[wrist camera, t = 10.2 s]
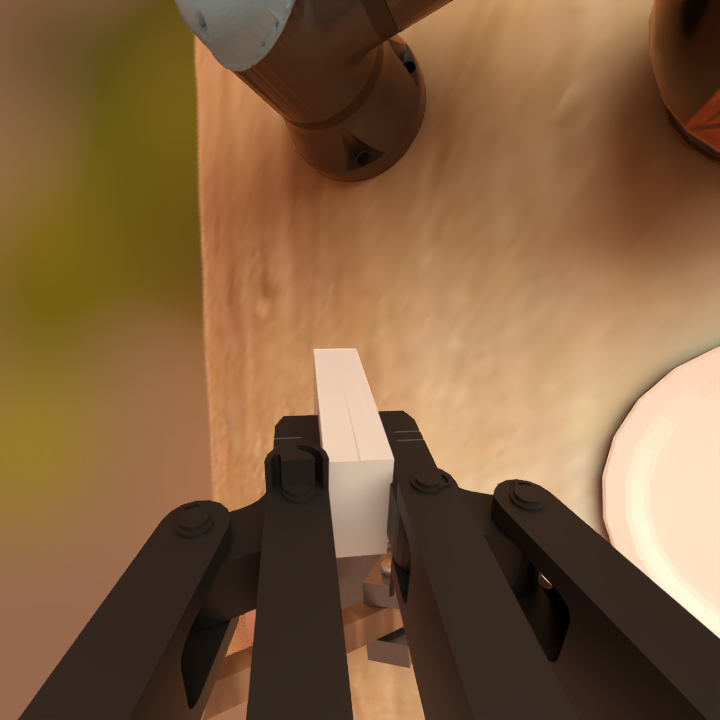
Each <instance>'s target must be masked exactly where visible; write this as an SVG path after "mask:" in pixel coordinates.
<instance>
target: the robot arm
mask: <svg viewBox="0 0 720 720" xmlns="http://www.w3.org/2000/svg"><path fill="white" fill-rule="evenodd" d="M451 1H453V0H175V2H176V5H177V7H178V10H179V12H180V14H181V16H182V18H183V20H184V21H185V22H186V24H187V26H188V27H189V28H190V29H191V31H192V32H193V33H194V34H195V35H196V36H197V37H198V38H199V39H200V40H201V42H202V43H203V44H204V45H205V46H206V47H207V48H208V49H209V50H210V51H211V52H212V54H213V56H214V57H215V59H216V60H218V62H219V63H220V64H221V65H222V66H223V67H225V68H227V69H230V70H231V71H232V72H233V73H234V74H235V75H236V76H237V77H239V78H240V79H241V80H242V81H243V82H244V83H245V84H246V85H248V86H249V87H250V88H251V89H252V90H253V91H254V92H255V93H256V94H258V95H259V96H260V97H261V98H262V99H263V100H264V101H265V102H267V103H268V104H269V105H270V106H271V107H272V108H273V109H274V110H275V111H277V112H278V113H279V114H280V115H281V116H282V117H283V118H284V120H285V122H286V125H287V127H288V129H289V132H290V134H291V136H292V139H293V141H294V143H295V145H296V147H297V149H298V151H299V152H300V154H301V155H302V156H303V157H304V159H305V160H306V161H307V162H308V163H309V164H311V165H312V166H313V167H314V168H315V169H317V170H318V171H319V172H320V173H322V174H323V175H325V176H327V177H329V178H332V179H335V180H339V181H347V182H353V181H361V180H365V179H368V178H371V177H374V176H376V175H378V174H380V173H382V172H383V171H385V170H387V169H388V168H389V167H391V166H392V165H393V164H394V163H396V162H397V161H398V160H399V159H400V158H401V157H402V156H403V154H404V153H405V152H406V151H407V149H408V148H409V147H410V145H411V144H412V142H413V140H414V139H415V137H416V135H417V133H418V131H419V128H420V126H421V123H422V120H423V116H424V111H425V104H426V89H425V82H424V78H423V75H422V72H421V69H420V67H419V64H418V62H417V60H416V57H415V55H414V53H413V52H412V50H411V49H410V47H409V46H408V45H407V43H406V42H405V41H404V40H403V39H402V38H401V37H400V36H398V35H397V34H398V33H399V32H401V31H403V30H405V29H406V28H408V27H410V26H411V25H413V24H415V23H416V22H418V21H420V20H421V19H423V18H425V17H426V16H428V15H430V14H431V13H433V12H434V11H436V10H438V9H439V8H441V7H443V6H444V5H446V4H448V3H449V2H451ZM313 351H314V415H306V416H283V417H282V419H281V420H280V421H279V422H278V423H277V425H276V426H275V435H274V449H273V450H272V451H271V452H270V453H268V454H267V457H266V459H265V461H264V463H265V479H266V493H265V495H264V496H263V497H262V498H260V499H259V500H258V501H256V502H255V503H253V504H251V505H249V506H246V507H244V508H241V509H238V510H235V511H231V512H228V509H227V508H226V507H224V506H223V505H222V504H220V503H217V502H214V501H210V500H206V501H194V502H191V503H187V504H184V505H181V506H180V507H178V508H176V509H174V510H173V511H171V512H170V513H169V514H168V515H167V516H166V517H165V518H164V519H163V520H162V521H161V522H160V524H159V525H158V527H157V528H156V529H155V531H154V532H153V533H152V535H151V536H150V538H149V539H148V540H147V542H146V543H145V544H144V546H143V547H142V549H141V550H140V551H139V553H138V554H137V556H136V557H135V558H134V560H133V561H132V563H131V564H130V565H129V567H128V568H127V569H126V571H125V572H124V574H123V575H122V577H121V578H120V579H119V581H118V582H117V583H116V585H115V586H114V588H113V589H112V590H111V592H110V593H109V594H108V596H107V597H106V599H105V600H104V601H103V603H102V604H101V606H100V607H99V608H98V610H97V611H96V612H95V614H94V615H93V616H92V618H91V619H90V621H89V622H88V623H87V625H86V626H85V628H84V629H83V630H82V632H81V633H80V634H79V636H78V637H77V639H76V640H75V642H74V643H73V644H72V646H71V647H70V648H69V650H68V651H67V653H66V654H65V655H64V657H63V658H62V659H61V661H60V662H59V664H58V665H57V666H56V668H55V669H54V670H53V672H52V673H51V675H50V676H49V677H48V679H47V680H46V682H45V683H44V684H43V686H42V687H41V689H40V690H39V691H38V693H37V694H36V695H35V697H34V698H33V700H32V701H31V702H30V704H29V705H28V706H27V708H26V709H25V711H24V712H23V713H22V715H21V716H20V718H19V719H18V720H201V718H202V715H203V712H204V710H205V707H206V705H207V702H208V699H209V697H210V694H211V692H212V689H213V686H214V684H215V681H216V679H217V676H218V673H219V671H220V668H221V666H222V663H223V660H224V658H225V655H226V653H227V650H228V647H229V645H230V642H231V640H232V637H233V634H234V632H235V629H236V627H237V624H238V621H239V616H240V615H242V614H245V613H247V612H250V611H252V610H255V609H256V616H255V627H254V638H253V649H252V660H251V671H250V682H249V694H248V705H247V716H246V720H353V712H352V702H351V693H350V683H349V674H348V665H347V655H346V646H345V637H344V627H343V618H342V609H341V599H340V590H339V581H338V571H337V562H336V558H339V557H351V556H363V555H376V554H387V544H388V539H389V543H390V547H391V551H392V558H391V570H390V582H389V597H390V596H394V587H395V592H396V596H397V600H398V604H399V609H400V613H401V617H402V622H403V626H404V630H405V634H406V639H407V643H408V647H409V651H410V656H411V660H412V664H413V669H414V673H415V677H416V681H417V686H418V690H419V694H420V698H421V703H422V707H423V711H424V716H425V720H720V638H719V637H718V636H716V635H715V634H714V633H713V632H712V631H711V630H709V629H708V628H707V627H706V626H705V625H704V624H702V623H701V622H700V621H699V620H698V619H697V618H695V617H694V616H693V615H692V614H691V613H690V612H688V611H687V610H686V609H685V608H684V607H683V606H682V605H680V604H679V603H678V602H677V601H676V600H675V599H673V598H672V597H671V596H670V595H669V594H668V593H666V592H665V591H664V590H663V589H662V588H661V587H659V586H658V585H657V584H656V583H655V582H654V581H652V580H651V579H650V578H649V577H648V576H647V575H646V574H644V573H643V572H642V571H641V570H640V569H639V568H637V567H636V566H635V565H634V564H633V563H632V562H630V561H629V560H628V559H627V558H626V557H625V556H623V555H622V554H621V553H620V552H619V551H618V550H616V549H615V548H614V547H613V546H612V545H611V544H610V543H608V542H607V541H606V540H605V539H604V538H603V537H601V536H600V535H599V534H598V533H597V532H596V531H594V530H593V529H592V528H591V527H590V526H589V525H587V524H586V523H585V522H584V521H583V520H582V519H580V518H579V517H578V516H577V515H576V514H575V513H574V512H572V511H571V510H570V509H569V508H568V507H567V506H565V505H564V504H563V503H562V502H561V501H560V500H558V499H557V498H556V497H555V496H554V495H553V494H551V493H550V492H549V491H547V490H546V489H544V488H543V487H541V486H539V485H537V484H534V483H532V482H529V481H524V480H517V479H515V480H506V481H504V482H502V483H499V484H498V485H497V487H496V489H495V490H494V495H490V494H484V493H478V492H472V491H468V490H464V489H461V488H459V487H458V485H457V483H456V481H455V480H454V479H453V478H452V476H451V475H450V474H448V473H446V472H445V471H443V470H442V469H439V468H437V466H436V464H435V462H434V460H433V458H432V456H431V453H430V451H429V449H428V447H427V445H426V443H425V441H424V440H423V437H422V435H421V433H420V432H419V428H418V426H417V424H416V422H415V420H414V419H413V418H412V417H411V416H409V415H408V414H407V413H405V412H404V411H380V412H378V411H377V408H376V405H375V402H374V399H373V396H372V393H371V390H370V387H369V384H368V381H367V378H366V376H365V373H364V370H363V367H362V364H361V361H360V358H359V355H358V352H357V349H356V348H331V349H313ZM542 575H543V576H544V577H545V578H546V579H547V580H548V581H549V582H550V584H549V583H548V582H547V581H546V580H545V579H544V578H543V577H542Z"/></svg>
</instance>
